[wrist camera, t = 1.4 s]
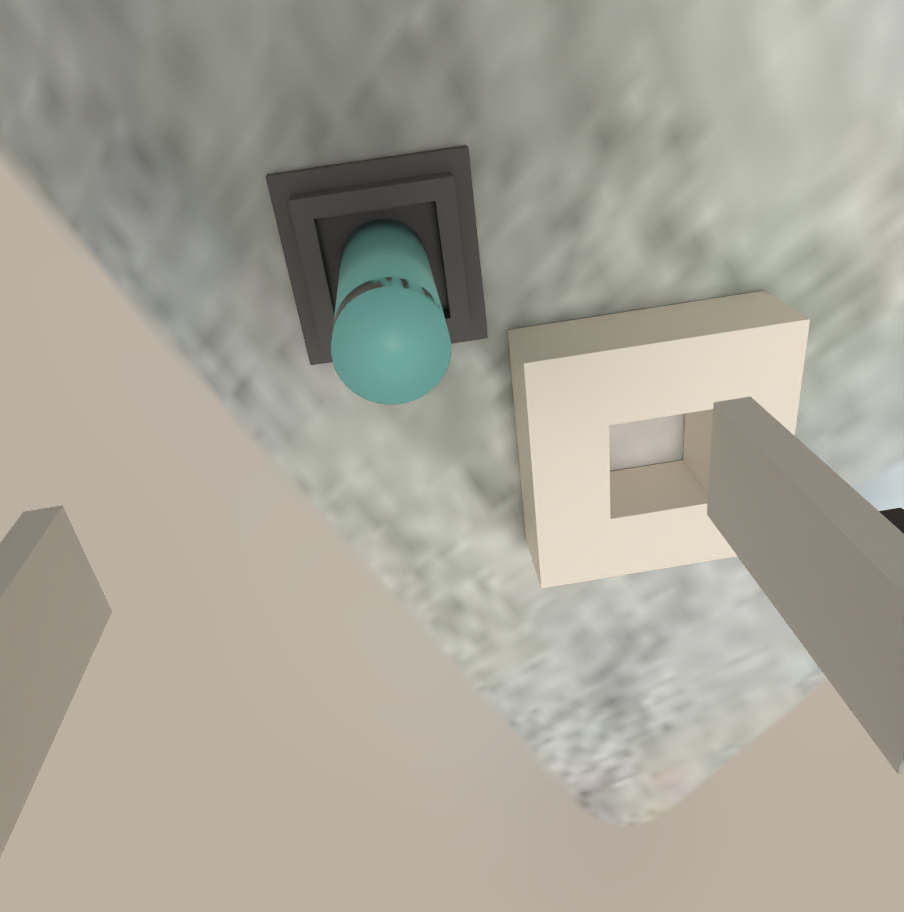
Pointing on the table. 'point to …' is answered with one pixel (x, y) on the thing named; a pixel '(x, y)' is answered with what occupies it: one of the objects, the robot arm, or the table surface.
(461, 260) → the grey square socket
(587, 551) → the port
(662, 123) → the table surface
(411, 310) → the plug
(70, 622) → the robot arm
